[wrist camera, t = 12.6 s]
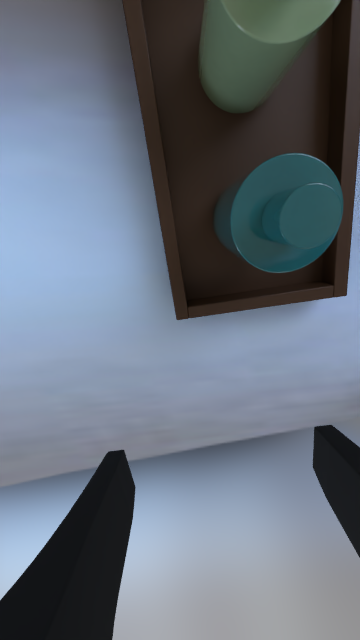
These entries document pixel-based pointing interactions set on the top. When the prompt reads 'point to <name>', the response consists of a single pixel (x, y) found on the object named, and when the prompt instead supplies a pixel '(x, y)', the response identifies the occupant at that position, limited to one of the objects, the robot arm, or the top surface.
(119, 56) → the top surface
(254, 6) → the green bottle middle
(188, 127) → the tray
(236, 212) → the teal bottle
